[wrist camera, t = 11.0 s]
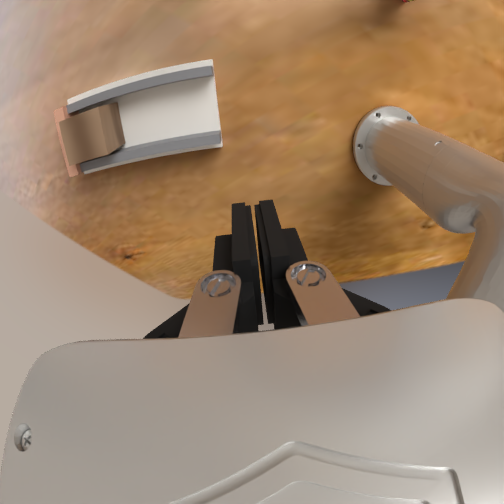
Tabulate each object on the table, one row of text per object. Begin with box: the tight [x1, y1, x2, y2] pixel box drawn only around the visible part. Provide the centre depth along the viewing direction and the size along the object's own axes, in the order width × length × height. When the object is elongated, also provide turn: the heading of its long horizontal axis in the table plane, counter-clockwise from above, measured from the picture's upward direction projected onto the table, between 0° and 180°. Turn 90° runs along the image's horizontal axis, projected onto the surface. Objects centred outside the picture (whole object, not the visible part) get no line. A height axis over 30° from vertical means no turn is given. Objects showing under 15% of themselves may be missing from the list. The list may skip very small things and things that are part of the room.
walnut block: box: [59, 102, 125, 166], centre depth 28 cm, size 6×6×6 cm
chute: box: [54, 59, 223, 177], centre depth 30 cm, size 21×12×5 cm, turn 95°
